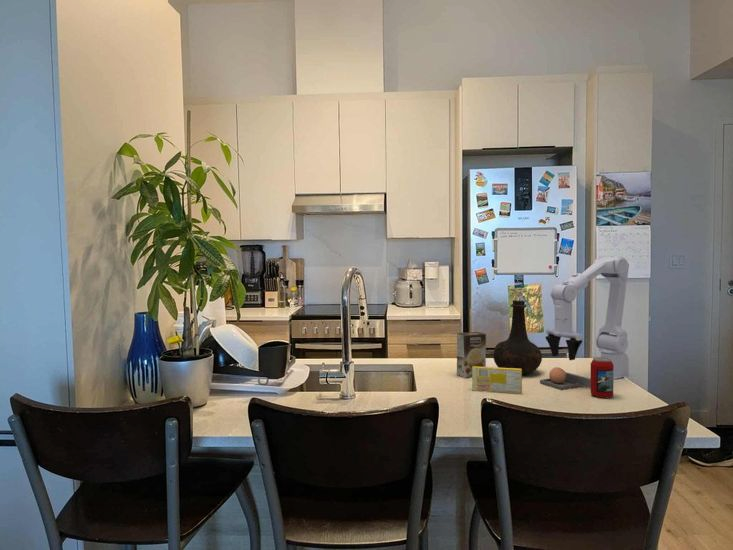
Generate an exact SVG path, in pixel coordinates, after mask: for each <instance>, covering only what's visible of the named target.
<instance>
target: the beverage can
mask: <svg viewBox="0 0 733 550" xmlns="http://www.w3.org/2000/svg"><path fill="white" fill-rule="evenodd" d="M589 378H590V388H589V390H590V394H591V395H593V396H594V397H595V396H596V398H599V397H602V398H601V399H608V398H607V397H609V398H611V397H613V395H614V383H615V382H614V380H615V379H614V365H613V363H612V361H611V359H609V358H603V357H601V356H599V357H593V358H592V360H591V361H590V377H589Z"/></svg>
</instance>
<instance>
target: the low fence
mask: <svg viewBox="0 0 733 550" xmlns="http://www.w3.org/2000/svg"><path fill="white" fill-rule="evenodd" d="M565 373H566V379H568V380H572V381H575V382H579V383H581V385H582V386H581V387H584V386H586V387H585V388H587V387H589V388H588V389H590V377H587V376H586V377H585V376H581V375H577V374H575V373H571V372H567V371H565Z"/></svg>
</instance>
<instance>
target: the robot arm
mask: <svg viewBox="0 0 733 550" xmlns="http://www.w3.org/2000/svg"><path fill="white" fill-rule="evenodd" d="M629 268H630V264H629V262H628V260H627V259H626V257H624V256H616V257H615V256H610V257H609V256H599V257H597V258H596V259H594V261H593V264H591V265H590V266H589V267H588V268H586V269H585V270H584V271H583V272H582V273H575V272H574V273H572V275H571V277H569V278H568V279H566V280H563V281H562V283H561V284H556V285H555V286H553V287H552V289H551V292H550V297H551V299H552V302H553V306H554V328H546V329H545V335H546V336H545V340H546V341H547V343H548V346H549V349H550V352H551V356H552V357H558V356H559V352H560V351H559V350H560V349H559V348H560V347H559V346H560V341H561V339H562V338H564V339H566V340H565V343H566V345H567V351H568V352H567V353H568V361H575V360H576V358H577V357H576V356H577V353H578V351H579V349H580V346H581V344H582V343H583V334H582V333H578V332H576V331H575V332H574V331H573V302H574V301H575V299H576V298H577V295H578V294H579V293H580V292H581V291H583V290H584V289H586V288H587V287H588V285H589V282H591V280H593V279H594V278H596V277H598V276H599V275H600V276H602V277H603V278H605V279H606V280H607V281H608V282H609V290H608V297H607V298H608V300H607V309H606V315H605V323H604V325H603V326H602V327H600V328H599V329H598V334H597V336H596V338H595V345H596V347H597V349H598V351H599V352H600V357H603V358H609V359H611V361H612V363H613V365H614V380H617V379H623V378H627V377H628V378H629V377H631V374H630V372H629V371H630V369H629V365H630V364H629V361H630V360H629V356H628V354H627V353H626V351H627V349H628V346H629V341H628V332H626V330H625V329H624V328H623V327H622V323H623V315H624V306H625V299H626V291H627V290H626V289H627V284H628V276H629ZM622 377H623V378H622Z"/></svg>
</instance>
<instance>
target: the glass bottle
mask: <svg viewBox="0 0 733 550" xmlns="http://www.w3.org/2000/svg"><path fill="white" fill-rule="evenodd" d="M527 306H528V305H526V304H525V300H516V299H515V300H512V304H510V307H511V308H512V314H511V326H510V331H509V332H510V333H509V336H508V338H507V339H506V340H504V341H500V342H498V343H497V344H496V345H495V347H494V349H493V353H492V354H493V355H492V356H493V361H494V363H495V365H496V366H497V368H517V369H522V376H527V375H530V374H532V373H535V371H537V370H538V368H540V366H541V364H542V361H543V355H542V351H541V349H540V347H538V345H537V344H535V343H533V342H532V341H530V339H529V337H528V333H527V326H526V315H525V314H526V313H525V310H526V309H525V308H527Z"/></svg>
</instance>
